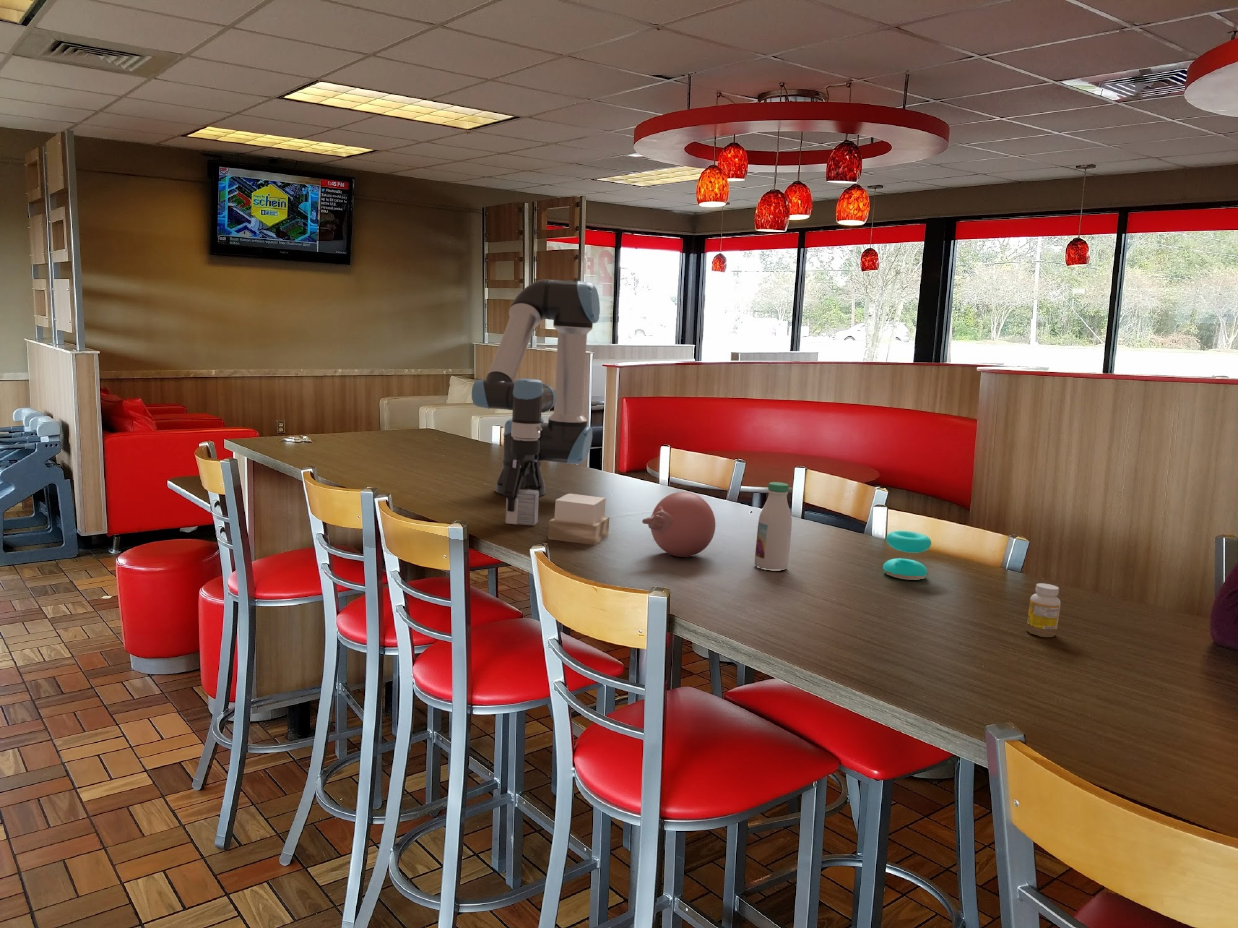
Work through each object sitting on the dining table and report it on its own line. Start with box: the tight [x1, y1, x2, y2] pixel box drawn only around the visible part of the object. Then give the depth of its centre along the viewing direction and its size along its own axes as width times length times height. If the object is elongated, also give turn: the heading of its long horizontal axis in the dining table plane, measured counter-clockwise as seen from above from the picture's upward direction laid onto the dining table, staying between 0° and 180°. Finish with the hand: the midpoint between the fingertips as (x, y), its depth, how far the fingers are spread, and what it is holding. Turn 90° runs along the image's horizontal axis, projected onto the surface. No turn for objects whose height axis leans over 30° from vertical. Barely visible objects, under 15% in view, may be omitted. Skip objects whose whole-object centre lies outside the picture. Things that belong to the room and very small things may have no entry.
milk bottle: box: [754, 481, 793, 569], centre depth 213 cm, size 8×8×20 cm
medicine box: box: [504, 489, 540, 526], centre depth 242 cm, size 8×4×9 cm, turn 84°
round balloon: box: [642, 491, 716, 558], centre depth 217 cm, size 15×20×15 cm
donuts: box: [882, 530, 932, 576], centre depth 214 cm, size 10×10×10 cm
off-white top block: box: [553, 493, 607, 525], centre depth 231 cm, size 10×10×5 cm
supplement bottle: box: [1026, 582, 1061, 630], centre depth 178 cm, size 5×5×10 cm
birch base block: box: [547, 516, 610, 546], centre depth 232 cm, size 12×12×5 cm
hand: (521, 518), depth 242 cm, fingers open, 13 cm apart
